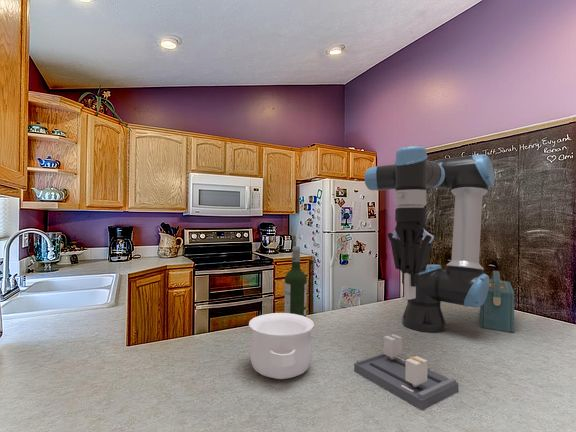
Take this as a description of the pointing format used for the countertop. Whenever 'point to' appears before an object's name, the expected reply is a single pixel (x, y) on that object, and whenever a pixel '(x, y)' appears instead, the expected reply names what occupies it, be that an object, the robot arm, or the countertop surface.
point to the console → (393, 380)
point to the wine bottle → (295, 287)
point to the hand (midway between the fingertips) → (409, 298)
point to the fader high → (392, 346)
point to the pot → (281, 344)
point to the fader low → (416, 371)
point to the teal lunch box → (498, 306)
